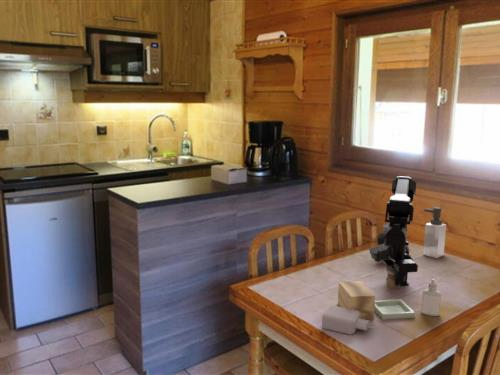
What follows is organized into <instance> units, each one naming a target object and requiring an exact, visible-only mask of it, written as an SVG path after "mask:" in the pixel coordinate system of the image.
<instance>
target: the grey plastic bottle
mask: <svg viewBox="0 0 500 375" xmlns="http://www.w3.org/2000/svg"><path fill="white" fill-rule="evenodd" d="M321 318H322V319H321V322H322V323H321V328H322V329H325V330H328V331H333V332H337V333H341V334H346V335H348V336H349V335H353V334H355V332H356V331H357V330H361V331H362V330H363V331H368V329H375V327H376V324H373V323H371V321H370V319H360V312H359V311H357V310H352V309H347V308H343V307H340V306H339V305H338V306H337V305H332V304H330V305H329V306H328V308H327V309H326V310H325V311H324V313H323V314H322V317H321Z"/></svg>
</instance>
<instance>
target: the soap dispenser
mask: <svg viewBox="0 0 500 375" xmlns="http://www.w3.org/2000/svg"><path fill="white" fill-rule="evenodd" d="M432 208H433V209H431V208H424V209H423V210H424V212H426V213H432V218H431V219H430V222H427V223H425V227H424V240H423V252H422V255H423V256H426V257H429V258H434V259H439V258H440V257H442V256H444V254H445V243H446V235H447V234H446V233H447V224H445V223H443V220H442V219H441V213H442V209H443V207H440V206H434V207H432Z"/></svg>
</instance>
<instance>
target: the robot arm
mask: <svg viewBox="0 0 500 375" xmlns="http://www.w3.org/2000/svg"><path fill="white" fill-rule="evenodd" d="M391 193H392V194H393V195H391V196H390V197H389V201H387V202H386V208H385V217H384V223H388V224H389V228H388V230H387V233H386V238H385V240H384V244H381V245H378V244H377V245H375V246H373V247H369V250H368V251H369V253H370V256H371V257H370V258H371V259H373V261H374V262H377V263H379V262H381V261H383V263H384V264H385V268H386V272H387V273H388V266H389V265H394V266H390V267H391V268H392V269H393V270H394V278H395V285H396V286H398V285H399V284H400V286H409V285H410V283H409V282H408V275H409V274H408V273H417V272H418V271H419V270H418V269H419V265H418V264H417V263H416V262H415V261H414V260H413V257H412V255H411V254H410V248H409V244H410V242H409V241H407V238H408V237H407V234H408V225H411V222H413V220H414V211H415V207H414V206H413V205H414V204H413V203H412V202H413V201H414V197H415V195H416V194H417V181H415V180H413V179H412V177H410V176H401V175H399V176H396V179H393V180H392V183H391ZM387 279H388V274H387V276H386V281H387Z"/></svg>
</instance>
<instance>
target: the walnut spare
mask: <svg viewBox="0 0 500 375" xmlns="http://www.w3.org/2000/svg"><path fill="white" fill-rule="evenodd" d="M390 266H394V265H389V266H388V272H387V275H388V279H387V280H386V281H387V282H386V288H388V289H390V290H395V291H396V290H397V291H398V290H399V289H401V288H400V287H401V285H400V284H399V285H398V286H396V285H395V278H394V270H393V269H392V268H391V267H390Z"/></svg>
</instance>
